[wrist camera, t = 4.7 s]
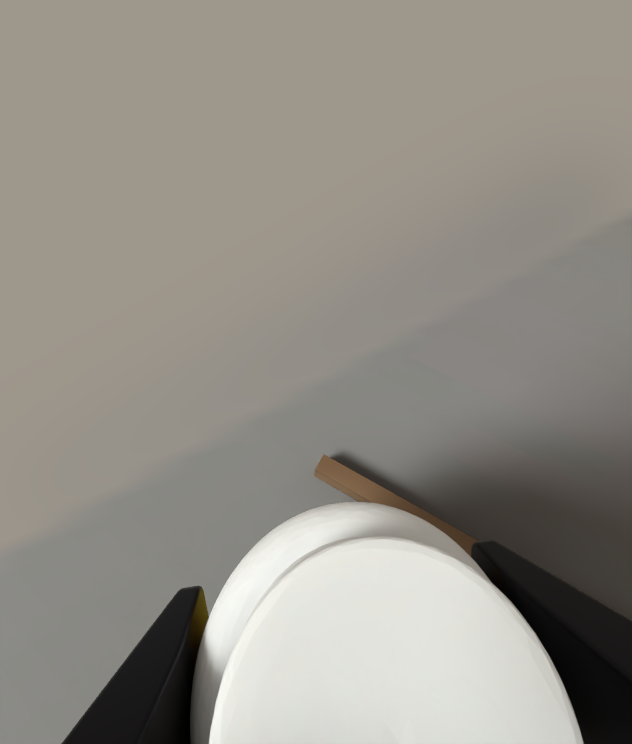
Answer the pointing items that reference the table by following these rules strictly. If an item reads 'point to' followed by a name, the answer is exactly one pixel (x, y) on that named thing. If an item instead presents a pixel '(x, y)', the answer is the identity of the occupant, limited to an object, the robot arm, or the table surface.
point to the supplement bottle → (371, 643)
